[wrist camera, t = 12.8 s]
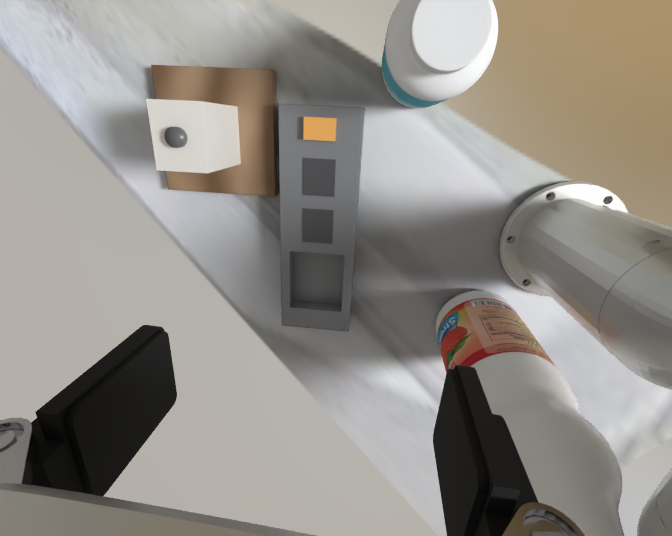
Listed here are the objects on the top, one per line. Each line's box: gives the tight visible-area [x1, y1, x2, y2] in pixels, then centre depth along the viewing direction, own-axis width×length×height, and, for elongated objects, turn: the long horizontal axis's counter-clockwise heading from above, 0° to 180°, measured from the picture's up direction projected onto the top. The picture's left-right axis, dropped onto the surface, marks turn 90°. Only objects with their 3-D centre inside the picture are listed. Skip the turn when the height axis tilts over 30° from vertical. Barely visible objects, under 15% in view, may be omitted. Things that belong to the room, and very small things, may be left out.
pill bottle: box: [382, 0, 498, 108], centre depth 27 cm, size 8×7×14 cm
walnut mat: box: [151, 65, 278, 196], centre depth 36 cm, size 12×12×1 cm
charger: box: [146, 99, 241, 173], centre depth 32 cm, size 4×6×9 cm
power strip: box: [278, 104, 365, 331], centre depth 38 cm, size 8×24×4 cm, turn 177°
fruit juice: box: [436, 291, 624, 536], centre depth 29 cm, size 9×9×28 cm
